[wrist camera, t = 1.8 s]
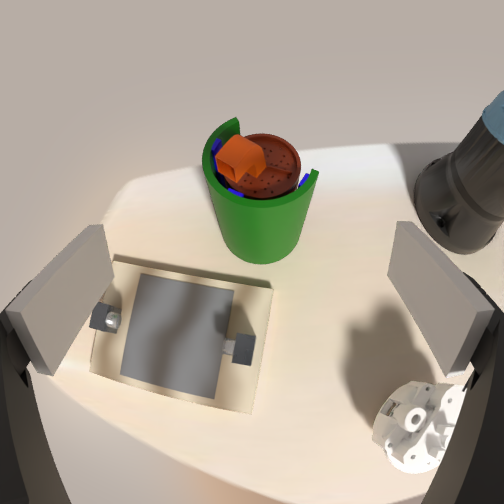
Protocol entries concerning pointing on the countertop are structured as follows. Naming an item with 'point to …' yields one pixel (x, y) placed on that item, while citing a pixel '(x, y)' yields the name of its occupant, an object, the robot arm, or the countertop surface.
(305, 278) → the countertop surface
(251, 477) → the countertop surface
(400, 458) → the mechanical part
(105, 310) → the knobbed dark grey block
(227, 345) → the grey block with stub
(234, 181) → the green plastic cylinder
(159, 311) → the mount plate
